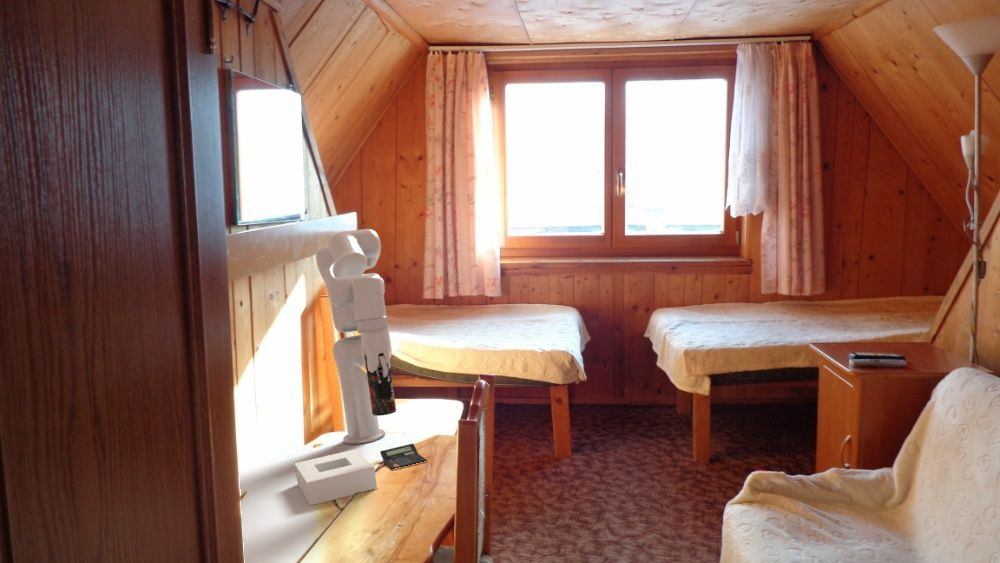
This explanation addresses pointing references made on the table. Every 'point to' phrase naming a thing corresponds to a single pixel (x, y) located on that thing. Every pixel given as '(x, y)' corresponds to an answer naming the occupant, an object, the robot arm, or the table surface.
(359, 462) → the socket board
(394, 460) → the calculator
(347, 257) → the robot arm
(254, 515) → the table surface
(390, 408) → the deodorant
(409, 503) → the table surface
